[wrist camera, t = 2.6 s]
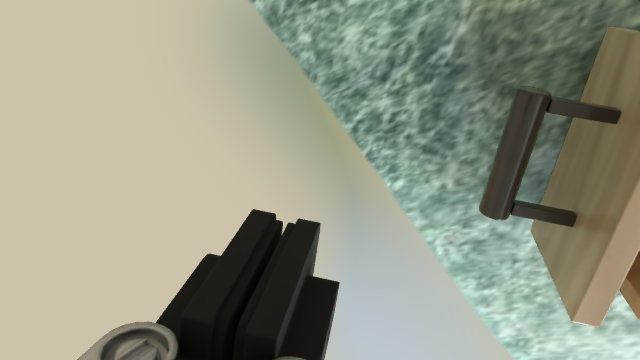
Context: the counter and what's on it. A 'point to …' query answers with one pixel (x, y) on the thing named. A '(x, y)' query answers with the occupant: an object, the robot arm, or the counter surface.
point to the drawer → (582, 182)
